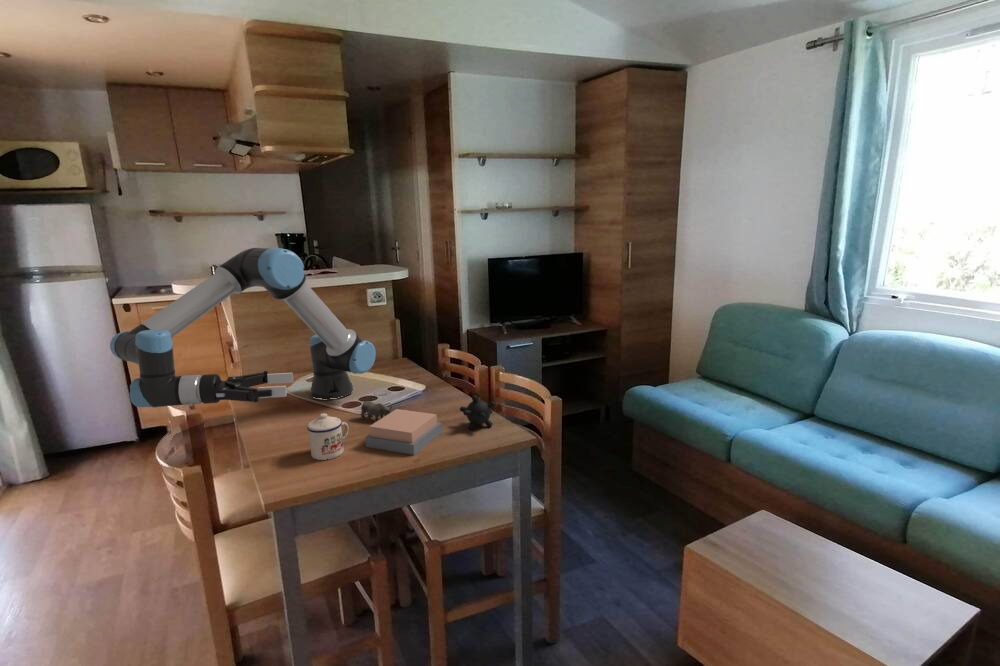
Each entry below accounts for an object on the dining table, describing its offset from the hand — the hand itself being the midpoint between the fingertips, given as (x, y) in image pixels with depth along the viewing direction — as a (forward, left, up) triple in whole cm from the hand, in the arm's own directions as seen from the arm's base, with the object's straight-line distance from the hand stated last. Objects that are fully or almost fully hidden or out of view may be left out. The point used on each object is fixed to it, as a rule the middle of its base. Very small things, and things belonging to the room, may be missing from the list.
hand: (289, 384), depth 142 cm
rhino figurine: (-29, +7, -21) cm, 36 cm away
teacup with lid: (-5, +7, -21) cm, 23 cm away
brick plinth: (-19, +23, -21) cm, 36 cm away
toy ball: (-35, +39, -21) cm, 56 cm away
